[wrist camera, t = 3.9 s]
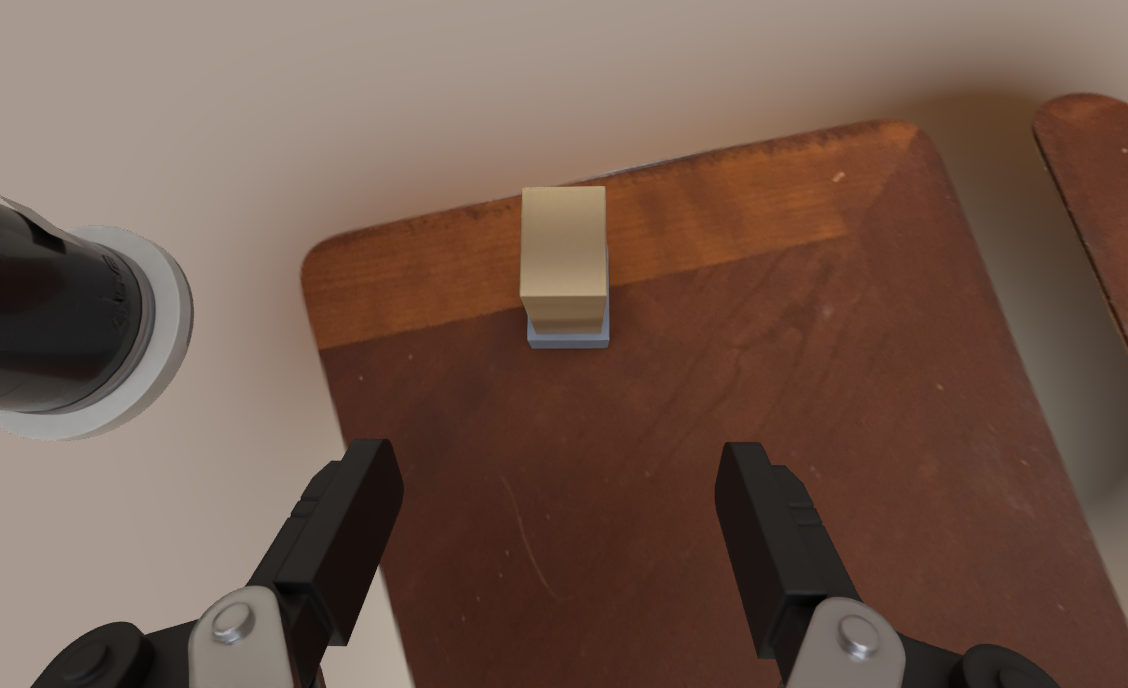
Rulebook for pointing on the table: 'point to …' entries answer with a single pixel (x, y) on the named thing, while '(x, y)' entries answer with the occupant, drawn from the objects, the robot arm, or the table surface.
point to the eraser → (565, 267)
